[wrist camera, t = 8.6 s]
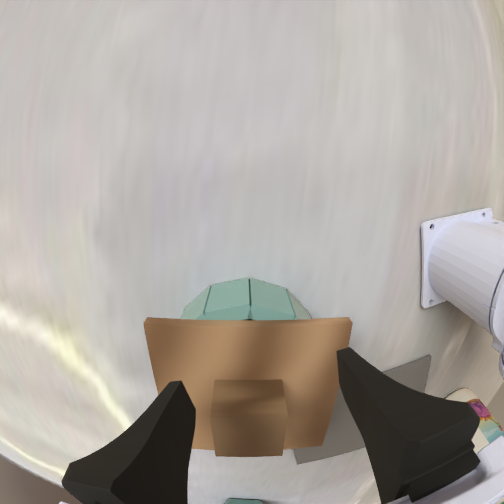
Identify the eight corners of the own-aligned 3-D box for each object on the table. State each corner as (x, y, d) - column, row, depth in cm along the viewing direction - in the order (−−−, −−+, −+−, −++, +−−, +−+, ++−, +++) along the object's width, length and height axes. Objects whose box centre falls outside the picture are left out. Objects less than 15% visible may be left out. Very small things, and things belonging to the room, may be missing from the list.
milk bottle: (433, 433, 29) (486, 527, 10) (420, 415, 28) (484, 528, 8) (473, 399, 28) (536, 485, 9) (466, 377, 26) (545, 476, 7)
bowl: (302, 266, 22) (315, 289, 17) (316, 376, 24) (327, 409, 20) (162, 294, 22) (145, 321, 18) (201, 395, 25) (196, 430, 20)
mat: (429, 354, 25) (431, 356, 24) (413, 426, 28) (414, 428, 28) (282, 398, 25) (283, 401, 25) (296, 462, 29) (297, 464, 28)
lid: (348, 316, 18) (372, 353, 14) (320, 439, 21) (330, 475, 17) (147, 317, 17) (124, 355, 13) (174, 440, 21) (167, 477, 17)
